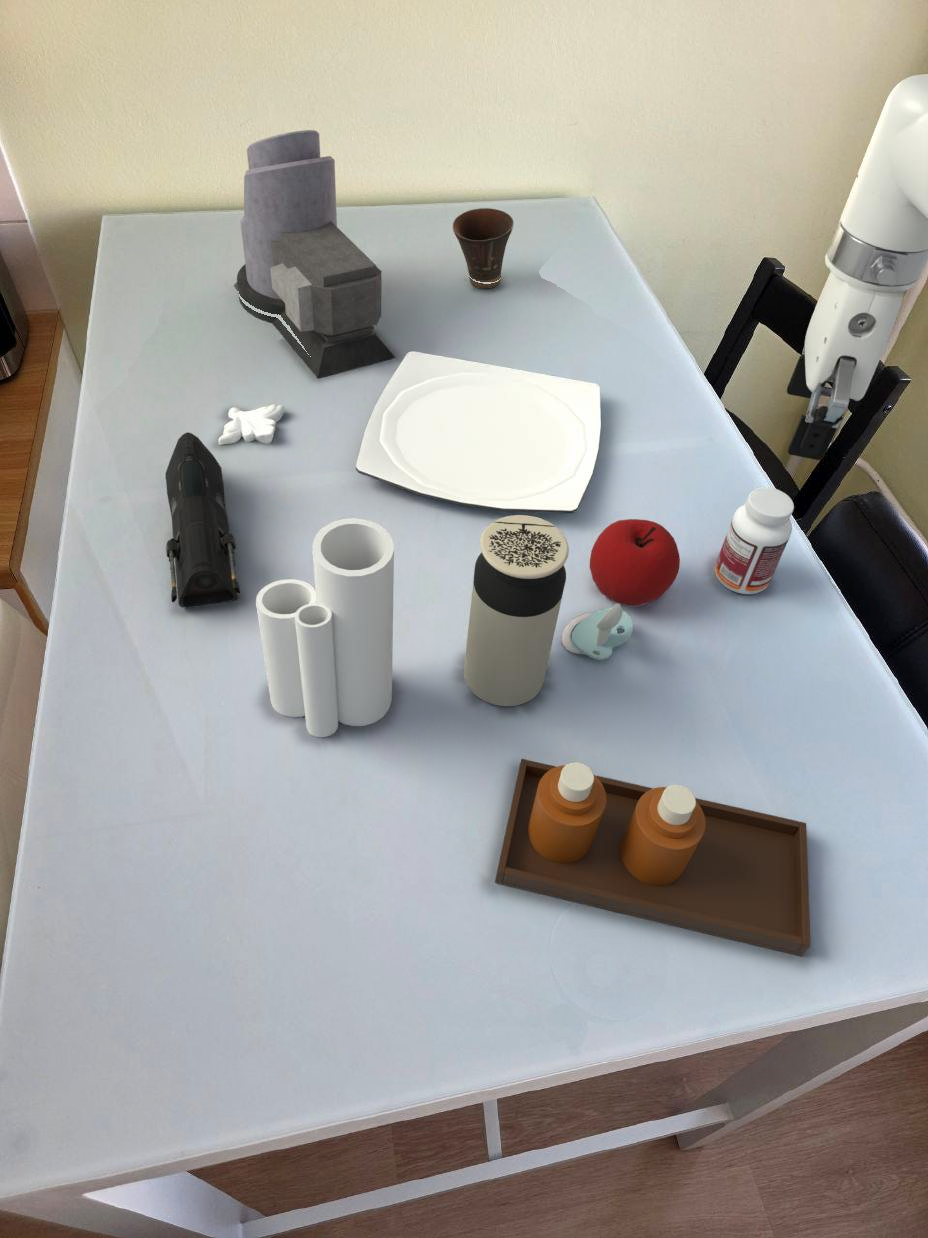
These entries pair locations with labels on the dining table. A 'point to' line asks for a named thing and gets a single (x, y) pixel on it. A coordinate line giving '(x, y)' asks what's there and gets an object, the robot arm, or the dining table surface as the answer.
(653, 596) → the apple
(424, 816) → the dining table surface
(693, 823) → the amber bottle middle
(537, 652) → the travel mug
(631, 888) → the tray
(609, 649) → the pacifier
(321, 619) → the vase
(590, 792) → the amber bottle far
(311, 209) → the juicer
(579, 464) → the plate
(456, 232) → the cup
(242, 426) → the acanthus leaf ornament
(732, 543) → the pill bottle
